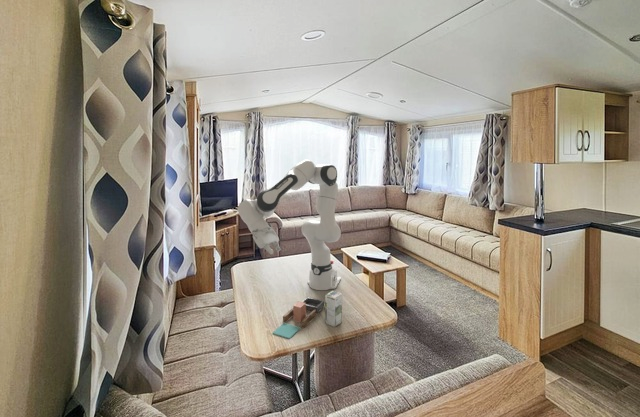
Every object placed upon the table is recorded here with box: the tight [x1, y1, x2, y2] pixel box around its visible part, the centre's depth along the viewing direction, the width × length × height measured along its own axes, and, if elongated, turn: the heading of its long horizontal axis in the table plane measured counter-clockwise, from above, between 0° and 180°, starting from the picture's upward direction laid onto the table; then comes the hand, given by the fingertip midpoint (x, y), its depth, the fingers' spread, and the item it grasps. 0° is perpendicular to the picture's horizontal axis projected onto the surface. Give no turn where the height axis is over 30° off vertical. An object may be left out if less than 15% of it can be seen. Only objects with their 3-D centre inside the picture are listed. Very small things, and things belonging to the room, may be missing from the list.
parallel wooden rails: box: [282, 307, 317, 329], centre depth 148 cm, size 12×11×3 cm
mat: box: [271, 322, 302, 340], centre depth 138 cm, size 9×9×1 cm
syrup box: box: [324, 290, 343, 328], centre depth 143 cm, size 6×6×14 cm
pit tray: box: [301, 296, 325, 314], centre depth 159 cm, size 8×10×3 cm
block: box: [292, 301, 307, 323], centre depth 148 cm, size 5×4×8 cm
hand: (275, 252), depth 150 cm, fingers open, 8 cm apart
